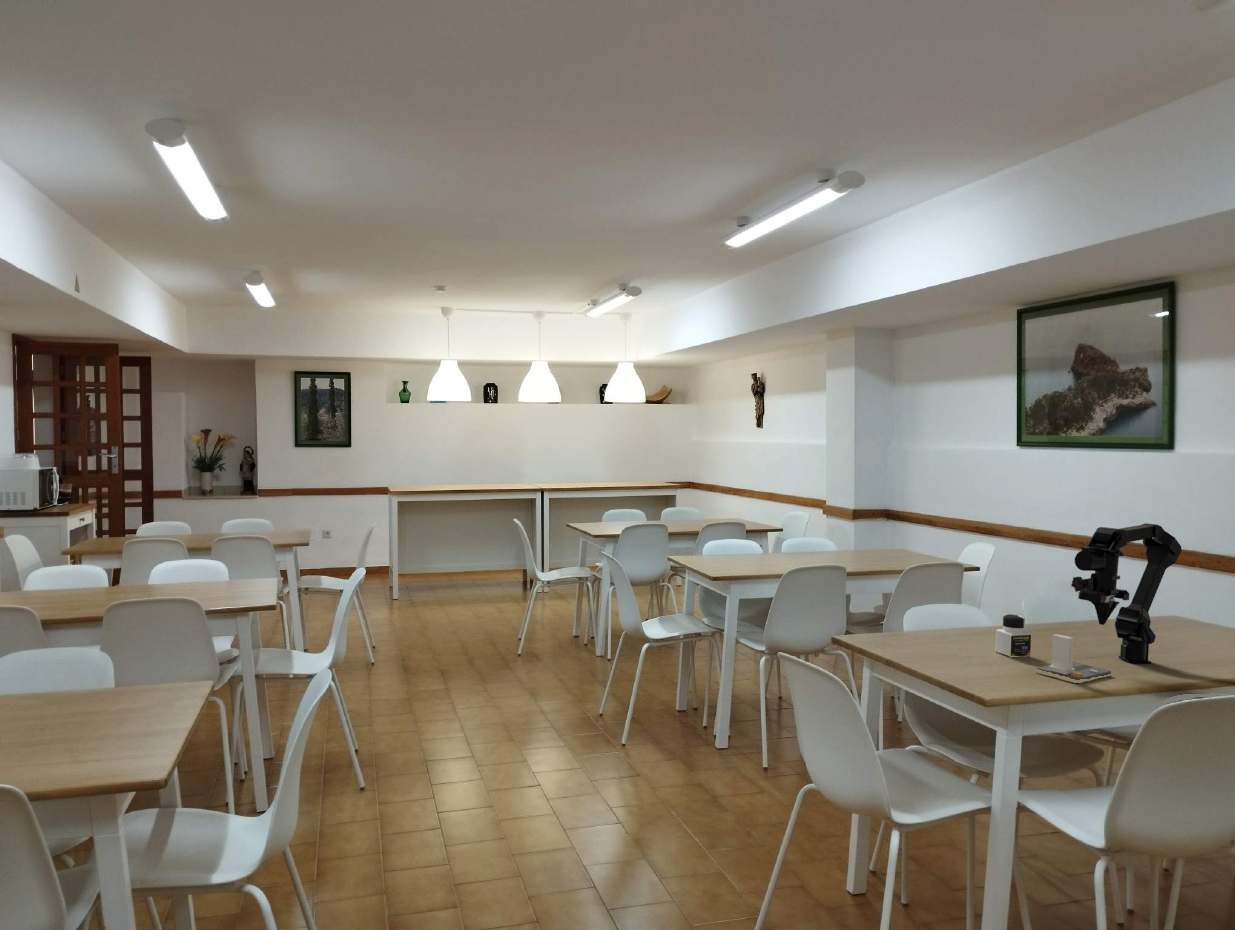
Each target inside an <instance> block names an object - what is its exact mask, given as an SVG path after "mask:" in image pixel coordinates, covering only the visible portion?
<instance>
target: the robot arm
mask: <svg viewBox="0 0 1235 930" xmlns="http://www.w3.org/2000/svg"><path fill="white" fill-rule="evenodd" d="M1164 529H1165V528H1163V527H1162V526H1161V525H1159V524H1157V523H1156V524H1154V523H1148V522H1147V523H1143V524H1139V525H1138V524H1137V525H1132V526H1127V527H1126V526H1125V527H1122V528H1121V527H1120V528H1116V527H1115V528H1113V527H1104V526H1100V527H1097V528H1096V530H1095V531H1094V533H1093V534H1092V536H1091V538H1090V539H1089V541H1088V543H1087V544H1086V546H1082V547H1081V550H1080V551H1078V552H1077V553H1076V555H1075V556H1074V565H1075V567H1076V568H1077V569H1078V570H1080V571H1084V572H1086V571H1087V572H1088V571H1089V572H1091V571H1092V573H1090V577H1089V578H1083V577H1082V576H1073V577H1072V581H1071V584H1070V585H1071V586H1070V587H1072V588H1073V589H1074V592H1075V593H1077V592H1078V597H1077V598H1078V599H1079V600H1082V601H1087V602H1090V603H1091V604H1092V605H1093V606H1094V608H1095V612H1096V616H1097V621H1098V624H1099V625H1101V626H1102V625H1105V624H1106V623H1107V621H1108V620H1109V618H1110V616H1111V615H1112V613H1113V612H1114V610H1116V608H1117V606H1118V605H1120V601H1116V599H1120V600H1122V601H1129V600H1130V593H1129V591H1128V590H1126V589H1120V588H1117V583H1118V582H1117V581H1118V580H1121V575H1119V574H1118V571H1119V560H1120V559H1119V558H1120V557H1124V556H1125V554H1124V553H1123V552H1122V551H1121V549H1122V548H1124V547H1126V546H1127V545H1128V544H1129V543H1131V542H1136V541H1137V542H1138V541H1142V544H1143V545H1144V547H1145V548H1146V550H1145V555H1146V560H1147V564H1146V566H1145V568H1144V571H1143V573H1142V576H1141V578H1140V580H1139V583H1138V585H1137V588H1136V590H1135V592H1134V594H1133V595H1134V596H1133V597H1132V600H1131V602H1130V604H1129V605H1128V606H1121V607H1120V608H1119V611H1118V613H1117V616H1116V617H1115V622H1114V628H1115V632H1116V636H1117V637H1116V638H1118V639H1121V640H1122V641H1121V644H1120V650H1119V651H1120V654H1119V655H1118V659H1121V660H1123V661H1125V660H1126V661H1125V662H1127V661H1128V663H1129V662H1131V663H1130V664H1142V663H1141V662H1148V663H1147V664H1152V663H1151V662H1152V661H1151V660H1149V652H1150V650H1149V648H1150V645H1152V644H1154V643H1155V640H1156V634H1155V633H1154V631H1153V630H1152V628H1151V627H1150V626H1151V623H1152V621H1151V620H1152V619H1151V617H1150V613H1149V611H1150V608H1151V606H1152V604H1153V601H1154V599H1155V597H1156V594H1157V591H1158V589H1159V587H1160V584H1161V582H1162V579H1163V577H1164V575H1165V573H1166V570H1167V569H1169V567H1171V566H1172V565H1174V564H1175V563H1176V562H1177V560H1178V558H1179V557H1180V555H1181V553H1182V546H1181V544H1180V542H1178V540H1177V538H1176V537H1175V536H1173V535H1172V534H1171V533H1169V532H1168V531H1166V530H1164ZM1149 662H1150V663H1149Z"/></svg>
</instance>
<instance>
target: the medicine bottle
mask: <svg viewBox="0 0 1235 930" xmlns="http://www.w3.org/2000/svg"><path fill="white" fill-rule="evenodd" d="M1025 624H1026V619H1025V617H1024V616H1022V615H1019V614H1014V613H1013V614H1005V615H1003V616H1002V628H999V629H996V631H995V646H994V647H995V650H994V651H998V652H1000V653H1003V654H1007V655H1008V656H1030V657H1031V647H1032V646H1031V645H1032V644H1031V643H1032V642H1031V641H1032V634H1031V633H1029V632H1027V631H1025Z"/></svg>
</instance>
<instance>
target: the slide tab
mask: <svg viewBox="0 0 1235 930" xmlns="http://www.w3.org/2000/svg"><path fill="white" fill-rule="evenodd" d="M1051 642H1052V644H1051V663H1050V664H1049V665H1050V666H1049V668H1048V670H1050V671H1054V672H1058V673H1061V674H1065V675H1067V674H1071V673H1072V672H1075V668H1072V661H1073V652H1074V637H1071V636H1066V635H1063V634H1058V633H1057V634H1052V639H1051Z"/></svg>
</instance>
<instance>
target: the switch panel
mask: <svg viewBox="0 0 1235 930" xmlns="http://www.w3.org/2000/svg"><path fill="white" fill-rule="evenodd" d="M1050 665H1051V664H1048V665H1045V666H1040V667H1035V669H1039V670H1042V671H1046V672H1051V673H1053V674H1058V675H1060V676H1065V677H1069V678H1071V679H1075V680H1080V679H1090V678H1092V677H1098V676H1104V675H1108V674H1111V675H1112V670H1108V669H1105V668H1101V667H1097V666H1092V665H1089V664H1084V663H1081V662H1076V661H1074V660H1072V668H1075V672H1072V673H1071V674H1067V675H1065V674H1061V673H1058V672H1054V671H1050V670H1048V668H1049V666H1050Z"/></svg>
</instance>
